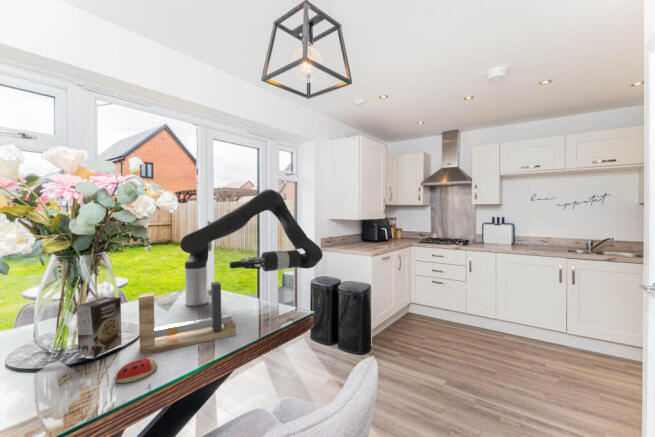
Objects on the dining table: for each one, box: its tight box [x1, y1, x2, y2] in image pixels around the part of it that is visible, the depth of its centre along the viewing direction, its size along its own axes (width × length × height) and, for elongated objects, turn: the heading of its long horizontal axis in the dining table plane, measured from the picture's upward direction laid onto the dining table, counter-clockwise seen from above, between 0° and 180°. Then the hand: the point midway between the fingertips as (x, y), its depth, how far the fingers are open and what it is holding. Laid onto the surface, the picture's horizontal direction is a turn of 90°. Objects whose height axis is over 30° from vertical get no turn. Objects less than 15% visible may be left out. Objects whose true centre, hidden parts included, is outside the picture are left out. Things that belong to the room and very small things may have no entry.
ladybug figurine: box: [113, 357, 158, 384], centre depth 78 cm, size 7×10×4 cm
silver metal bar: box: [154, 313, 233, 338], centre depth 100 cm, size 3×26×3 cm, turn 122°
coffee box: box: [77, 296, 122, 357], centre depth 90 cm, size 9×6×16 cm
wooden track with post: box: [138, 292, 237, 355], centre depth 99 cm, size 9×29×17 cm, turn 122°
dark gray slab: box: [210, 281, 222, 332], centre depth 104 cm, size 5×2×16 cm, turn 32°
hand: (230, 265), depth 106 cm, fingers closed
